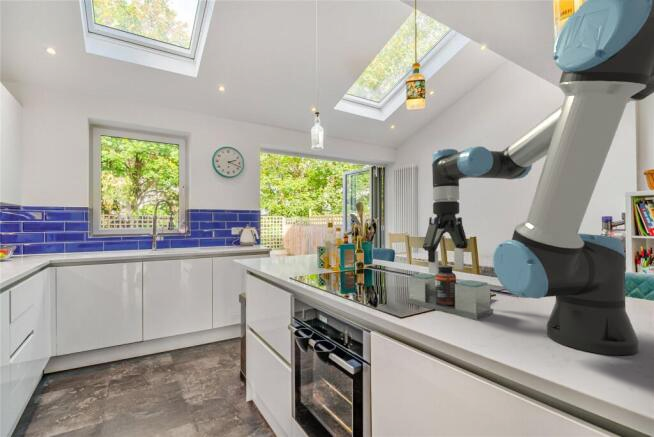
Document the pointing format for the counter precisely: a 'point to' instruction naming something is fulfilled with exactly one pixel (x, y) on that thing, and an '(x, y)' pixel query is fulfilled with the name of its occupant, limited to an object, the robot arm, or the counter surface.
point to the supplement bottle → (445, 285)
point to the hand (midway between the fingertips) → (446, 271)
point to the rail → (468, 297)
